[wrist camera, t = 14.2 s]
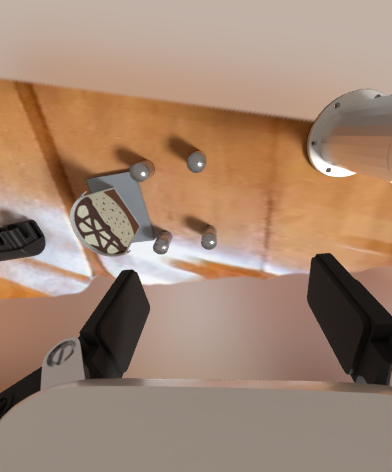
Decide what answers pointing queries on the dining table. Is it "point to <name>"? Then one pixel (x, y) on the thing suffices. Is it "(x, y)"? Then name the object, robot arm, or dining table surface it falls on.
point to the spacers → (163, 241)
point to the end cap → (21, 240)
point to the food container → (104, 223)
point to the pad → (127, 200)
